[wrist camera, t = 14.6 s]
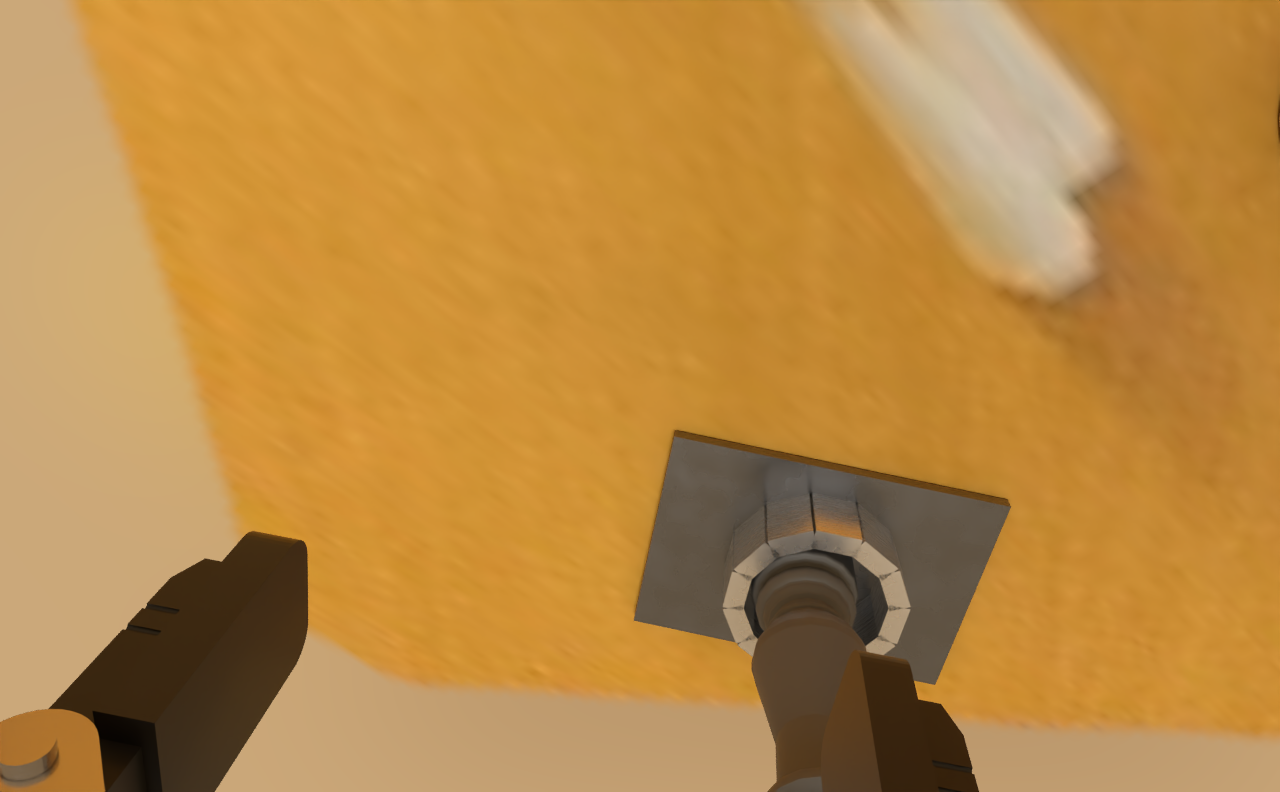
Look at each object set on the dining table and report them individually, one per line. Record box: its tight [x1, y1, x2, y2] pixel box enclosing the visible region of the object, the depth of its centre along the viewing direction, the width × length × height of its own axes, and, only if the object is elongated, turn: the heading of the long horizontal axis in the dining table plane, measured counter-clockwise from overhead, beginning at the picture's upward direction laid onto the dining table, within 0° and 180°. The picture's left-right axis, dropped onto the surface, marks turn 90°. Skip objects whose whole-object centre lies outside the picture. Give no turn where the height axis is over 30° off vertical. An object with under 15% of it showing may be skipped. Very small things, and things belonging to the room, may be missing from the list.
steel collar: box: [634, 430, 1011, 685], centre depth 55 cm, size 20×14×5 cm
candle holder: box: [751, 549, 867, 792], centre depth 45 cm, size 6×6×25 cm
